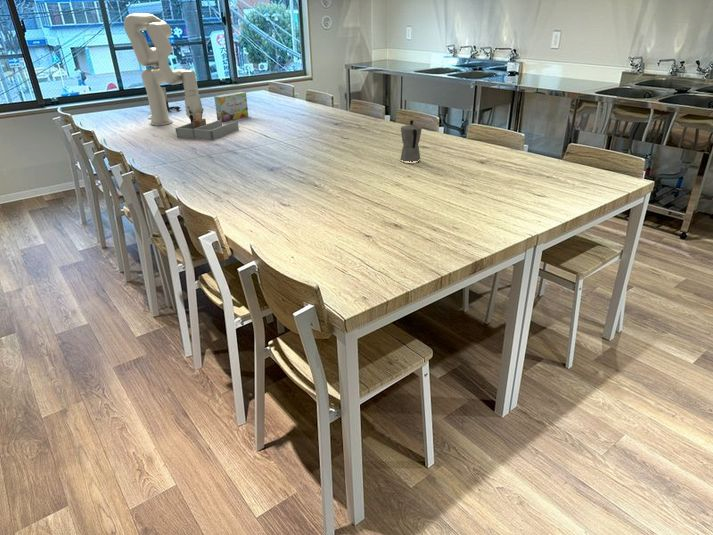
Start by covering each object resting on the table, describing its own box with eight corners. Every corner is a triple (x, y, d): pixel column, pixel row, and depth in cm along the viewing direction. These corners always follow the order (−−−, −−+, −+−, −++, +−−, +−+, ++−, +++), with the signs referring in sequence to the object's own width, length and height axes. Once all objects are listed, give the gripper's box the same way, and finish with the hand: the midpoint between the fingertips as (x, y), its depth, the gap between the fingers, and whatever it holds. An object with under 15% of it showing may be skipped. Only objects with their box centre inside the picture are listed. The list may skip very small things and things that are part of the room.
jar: (190, 127, 290) (188, 113, 286) (196, 125, 295) (194, 111, 291) (198, 127, 288) (196, 114, 285) (204, 125, 293) (202, 112, 289)
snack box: (223, 122, 300) (219, 96, 293) (217, 121, 303) (213, 96, 296) (249, 116, 315) (246, 91, 308) (243, 115, 318) (240, 91, 311)
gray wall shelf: (177, 137, 268) (175, 128, 265) (205, 127, 289) (204, 118, 287) (212, 140, 261) (211, 130, 258) (238, 129, 282) (237, 120, 280)
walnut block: (194, 133, 276) (192, 120, 273) (200, 131, 280) (197, 118, 277) (201, 133, 274) (199, 121, 271) (207, 131, 278) (205, 119, 275)
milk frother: (155, 110, 341) (150, 87, 334) (178, 107, 346) (174, 85, 339) (157, 113, 329) (152, 90, 322) (181, 111, 335) (177, 88, 328)
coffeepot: (397, 157, 226) (398, 117, 217) (417, 156, 226) (419, 116, 218) (403, 167, 212) (404, 125, 204) (424, 166, 213) (426, 124, 204)
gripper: (195, 90, 291) (200, 121, 299) (176, 95, 277) (182, 127, 285) (206, 91, 288) (211, 122, 297) (187, 95, 274) (193, 128, 283)
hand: (197, 124), depth 291 cm, fingers closed on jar, 5 cm apart
